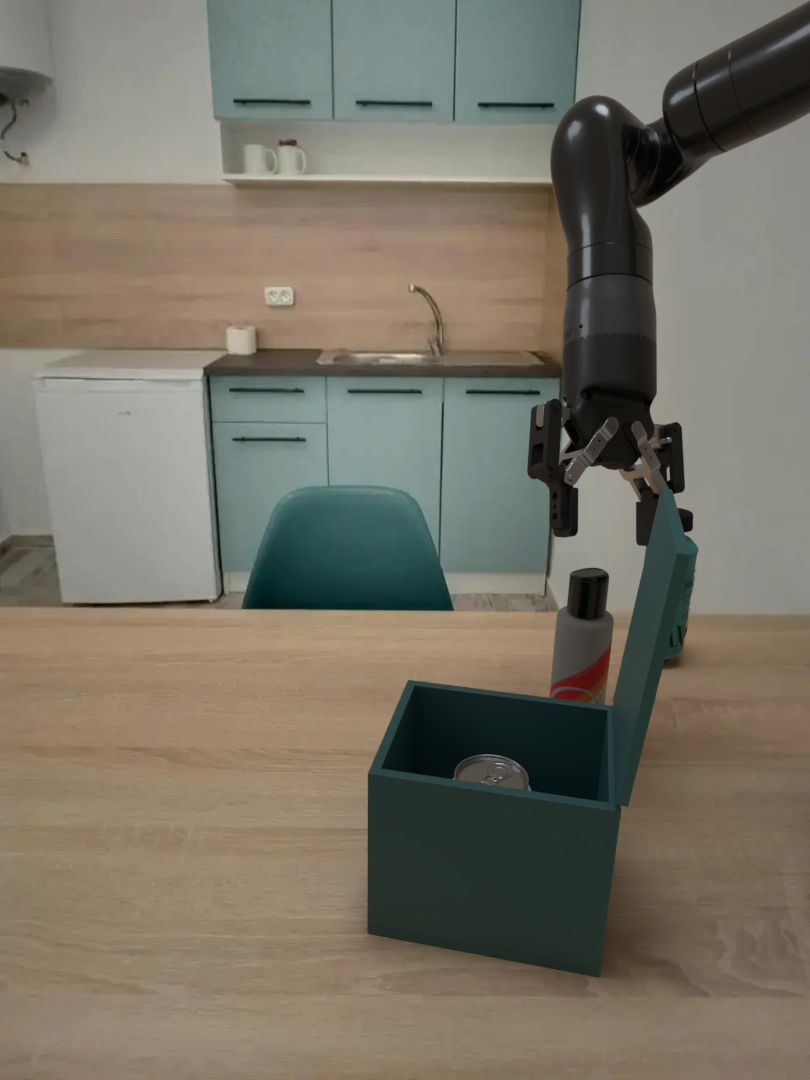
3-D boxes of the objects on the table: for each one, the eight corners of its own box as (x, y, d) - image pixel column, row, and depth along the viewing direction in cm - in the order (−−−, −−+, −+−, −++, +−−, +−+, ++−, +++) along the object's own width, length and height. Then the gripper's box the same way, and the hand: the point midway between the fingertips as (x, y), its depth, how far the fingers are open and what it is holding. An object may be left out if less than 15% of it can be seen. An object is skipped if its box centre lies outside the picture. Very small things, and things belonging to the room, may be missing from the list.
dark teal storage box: (367, 933, 64) (367, 773, 59) (404, 819, 77) (407, 679, 71) (599, 977, 61) (621, 811, 56) (599, 850, 73) (617, 705, 68)
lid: (677, 552, 49) (691, 554, 49) (661, 487, 61) (672, 489, 61) (615, 804, 56) (628, 807, 55) (612, 700, 68) (622, 702, 68)
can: (537, 894, 67) (549, 770, 63) (499, 946, 62) (509, 816, 58) (468, 860, 71) (475, 741, 66) (427, 908, 66) (431, 782, 61)
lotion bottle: (573, 765, 85) (592, 586, 78) (534, 739, 89) (548, 567, 82) (610, 746, 88) (632, 573, 81) (571, 722, 92) (588, 555, 85)
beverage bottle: (628, 665, 105) (647, 515, 98) (632, 642, 111) (650, 499, 104) (682, 674, 103) (705, 522, 96) (683, 650, 109) (705, 505, 102)
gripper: (568, 312, 61) (566, 529, 60) (707, 347, 68) (709, 544, 66) (510, 342, 68) (507, 538, 66) (642, 371, 75) (642, 551, 73)
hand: (608, 541), depth 66 cm, fingers open, 8 cm apart
